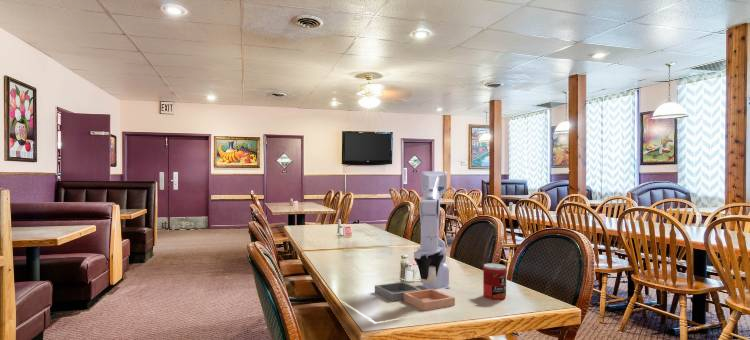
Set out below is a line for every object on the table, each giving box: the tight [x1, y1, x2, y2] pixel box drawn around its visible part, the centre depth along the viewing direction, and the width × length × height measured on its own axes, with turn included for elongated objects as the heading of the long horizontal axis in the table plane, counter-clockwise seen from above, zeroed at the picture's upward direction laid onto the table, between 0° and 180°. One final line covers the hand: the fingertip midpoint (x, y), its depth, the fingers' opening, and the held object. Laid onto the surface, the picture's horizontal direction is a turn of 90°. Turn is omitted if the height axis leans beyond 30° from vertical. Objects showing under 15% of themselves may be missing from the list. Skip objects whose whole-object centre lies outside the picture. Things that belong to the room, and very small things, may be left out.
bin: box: [374, 281, 423, 303], centre depth 148 cm, size 12×12×3 cm
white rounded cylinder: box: [420, 265, 436, 284], centre depth 139 cm, size 5×5×5 cm
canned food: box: [482, 262, 507, 301], centre depth 149 cm, size 8×8×11 cm
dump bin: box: [402, 288, 456, 312], centre depth 139 cm, size 12×12×3 cm
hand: (428, 277), depth 139 cm, fingers closed on white rounded cylinder, 5 cm apart
